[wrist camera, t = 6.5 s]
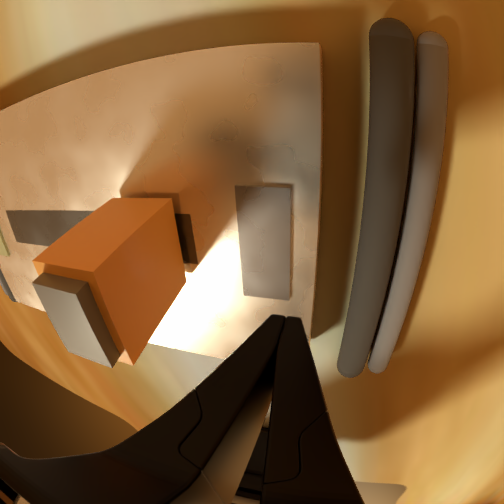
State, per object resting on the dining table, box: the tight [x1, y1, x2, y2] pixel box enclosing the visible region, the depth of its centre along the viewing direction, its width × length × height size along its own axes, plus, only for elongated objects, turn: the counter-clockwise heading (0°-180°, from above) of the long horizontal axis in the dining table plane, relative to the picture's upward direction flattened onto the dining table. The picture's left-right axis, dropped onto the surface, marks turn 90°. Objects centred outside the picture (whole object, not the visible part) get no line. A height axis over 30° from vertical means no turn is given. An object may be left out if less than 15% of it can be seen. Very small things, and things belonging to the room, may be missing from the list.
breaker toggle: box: [32, 198, 187, 368], centre depth 11 cm, size 4×3×6 cm
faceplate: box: [0, 42, 323, 359], centre depth 16 cm, size 15×24×2 cm, turn 94°
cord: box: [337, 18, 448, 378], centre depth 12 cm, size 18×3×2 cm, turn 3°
